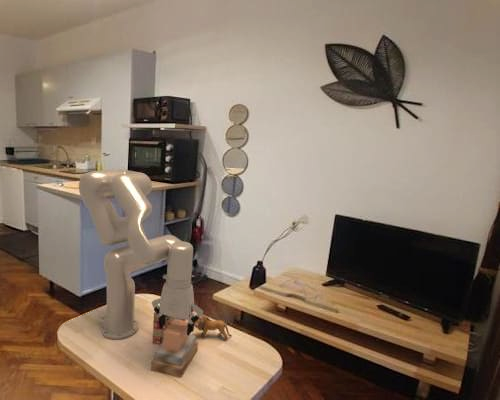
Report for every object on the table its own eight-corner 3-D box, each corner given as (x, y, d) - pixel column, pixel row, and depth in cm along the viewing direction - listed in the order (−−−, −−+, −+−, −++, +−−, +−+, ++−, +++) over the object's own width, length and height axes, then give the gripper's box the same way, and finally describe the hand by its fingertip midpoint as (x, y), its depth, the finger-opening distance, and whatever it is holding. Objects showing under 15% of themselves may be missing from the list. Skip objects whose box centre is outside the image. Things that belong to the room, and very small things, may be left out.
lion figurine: (191, 341, 121) (193, 318, 119) (192, 332, 126) (193, 311, 124) (232, 341, 123) (234, 319, 121) (231, 332, 128) (232, 311, 126)
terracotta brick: (163, 349, 106) (163, 331, 105) (174, 335, 114) (174, 318, 112) (177, 352, 105) (178, 335, 104) (187, 338, 113) (188, 321, 112)
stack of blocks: (173, 313, 139) (175, 285, 136) (188, 315, 138) (189, 287, 136) (152, 343, 118) (153, 311, 115) (169, 346, 117) (170, 314, 115)
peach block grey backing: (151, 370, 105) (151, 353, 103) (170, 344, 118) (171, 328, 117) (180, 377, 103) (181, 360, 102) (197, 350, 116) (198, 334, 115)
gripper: (147, 280, 103) (145, 330, 107) (200, 291, 100) (196, 342, 103) (159, 271, 110) (156, 318, 114) (208, 281, 107) (204, 329, 111)
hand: (175, 329), depth 109 cm, fingers open, 9 cm apart
